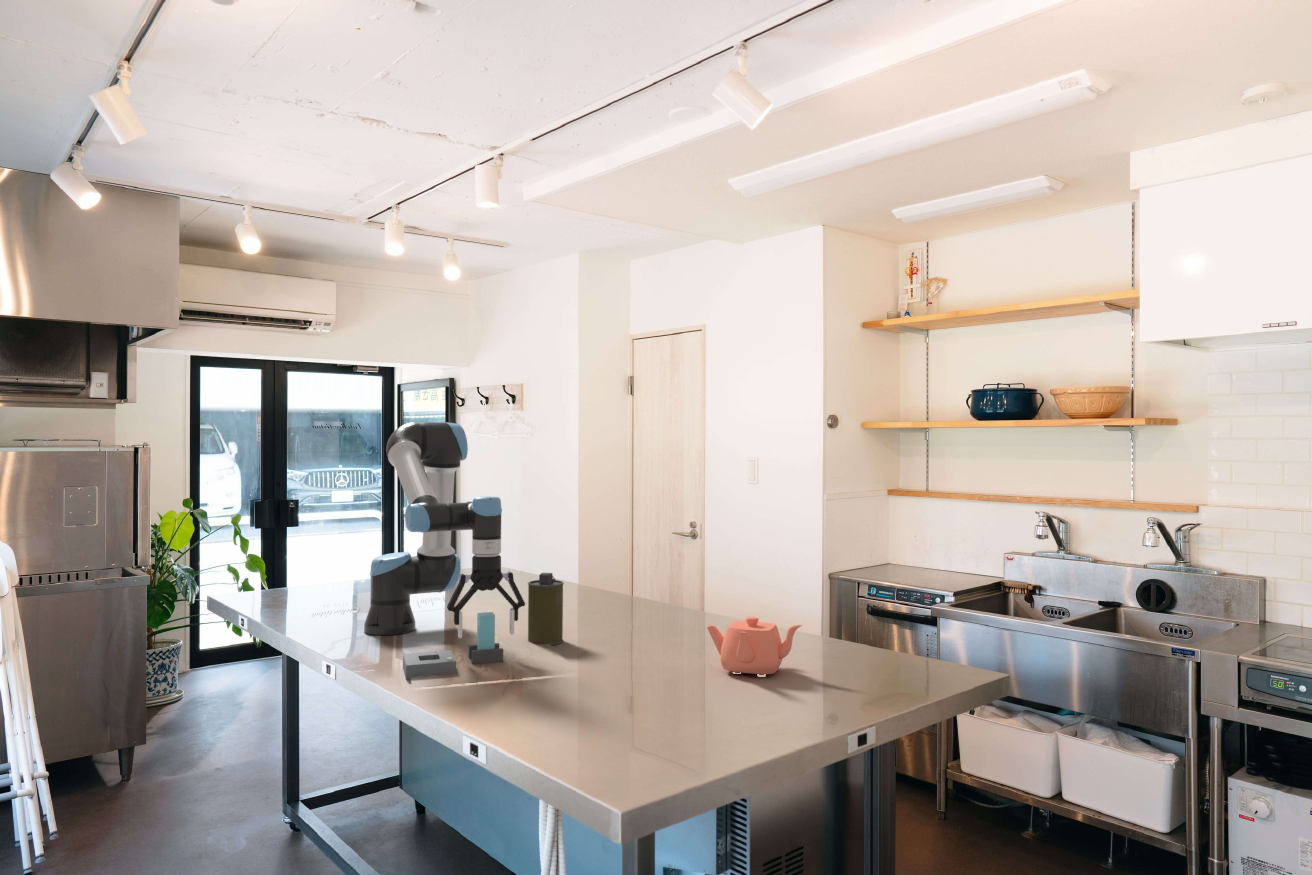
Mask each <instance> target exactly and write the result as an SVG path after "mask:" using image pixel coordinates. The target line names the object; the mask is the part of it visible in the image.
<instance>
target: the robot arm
mask: <svg viewBox="0 0 1312 875" xmlns="http://www.w3.org/2000/svg"><path fill="white" fill-rule="evenodd" d="M468 446H469V445H468V438H467V435H466V432H465V430H464V428H463V426H462V425H461V424H460V423H453V422H447V421H446V422H442V421H441V422H439V421H438V422H435V421H433V422H432V421H431V422H430V421H429V422H428V421H427V422H422V421H421V422H418V421H411V422H407V423H405V424H402V425H400V426H399V427H397V428H396V429H395V430H394V431H393V432H392V433H391V435H390V437H389V438H388V440H387V443H386V449H385V450H386V457H387V459H388V462H389V463H390V464H391V466H392V467H394V468H395V470H396V474H397V476H398V478H399V479H398V480H399V482H400V484H401V487H402V489H403V492H404V495H405V497H406V500H407V504H408V505H407V506H406V508H405V511H404V521H405V527H406V530H408V531H409V532H411V533H422V544H421V545H420V546H419V547H418V548H417V549H416V550H417V551H416V556H412V555H411V553H410V552H408V551H407V552H406V551H402V552H401V551H400V552H393V553H386V554H382V555H379V556H377V557H375V558H373V559H372V560H371V565H370V572H369V574H370V606H369V609H368V611H367V614H366V617H365V621H364V624H363V625H364V626H363V631H364V633H365V634H367V635H368V634H369V635H374V636H391V635H394V636H395V635H402V634H407V633H410V632H413V631H415V630H416V619H415V615H414V613H413V610H412V607H411V595H419V594H431V593H440V594H441V593H443V592H448V591H452V590H454V592H453V593H452V595H451V597H450V600H449V602H448V603H447V605H446V609H447V610H448V612H453V623H454V625H455V626H457V637H458V639H462V638H463V612H462V609H463V608H464V607H465V605H466V604H467V603H468V602H469V601H470V599H471V598H472V597H473V596H474V595H475V594H476V593H477V592H478V590H479V591H481V592H484V591H494V590H495V589H496V590H497V591H498V592H499V593H500V594H501V595H502V597H503V598H504V599H505V600H506V601H507V602H508V603H509V604H510V606H511V607H510V608H509V633H510V635H515V622H518V621H519V609H520V608H522V607H525V605H526V602H525V600H524V598H523V596H522V594H521V592H520V590H519V588H518V587H517V584H516V582H515V580H514V573H513V572H512V571H511V570H509V571H507V572H504V573H503V572H502V556H501V555H500V554H501V553H502V513H503V508H502V500H501V498H500V497H499V496H490V495H487V496H485V495H484V496H474V498H473V499H472V501H466V502H454V491H455V490H454V489H455V475H456V474H455V472H456V471H458V469H459V468H460V467H461V462H463V461H465V460H466V459H467V456H468V451H469V448H468ZM453 531H472V533H471V534H472V537H471V538H472V542H471V544H472V547H471V550H472V551H471V553H472V554H473V556H472V557H471V558H472V559H471V566H472V567H471V574H464V573H461V568H462V567H461V558H460V556H459V555H458V554H456V550H455V548H453V546H451V541H452V532H453ZM503 579H505V581H507V583H508V585H509V586H510V589H511V590H512V592H513V594H514V597H515V598H516V601H517V602H516V601H515V600H514V599H513V598H512V597H511V596H510V595H509V593H508V592H507V591H506V590H505V589H504V588H503V586H502V585H501V584H500V583H501V581H502V580H503ZM469 581H471V582H472V584H471V586H470V588H469V590H468V591H467V592H466V593H465V594H464V595H463V596H462V597H461V599H460V600H459V602H458V599H459V597H460V595H461V593H462V591H463V589H464V587H465V584H467V583H469ZM456 603H457V604H456Z"/></svg>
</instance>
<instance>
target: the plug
mask: <svg viewBox="0 0 1312 875" xmlns="http://www.w3.org/2000/svg"><path fill="white" fill-rule="evenodd" d="M476 616H477V623H476V627H477V628H476V645H477V650H487V649H495V643H496V642H495V641H496V623H495V622H496V614H495V613H494V612H493V611H491V612H490V611H489V612H477V615H476Z"/></svg>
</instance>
